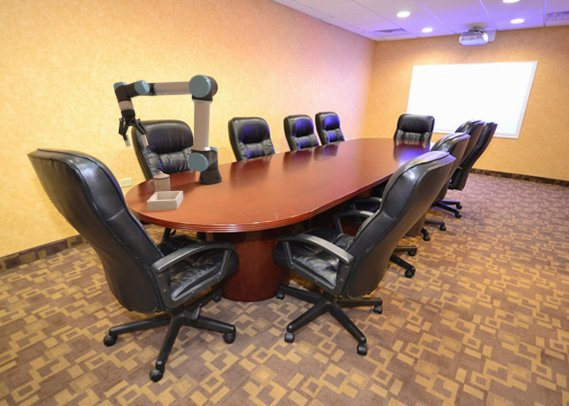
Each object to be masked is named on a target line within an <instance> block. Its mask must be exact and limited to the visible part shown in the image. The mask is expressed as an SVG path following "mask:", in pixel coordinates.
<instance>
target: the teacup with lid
mask: <svg viewBox="0 0 569 406" xmlns="http://www.w3.org/2000/svg"><path fill="white" fill-rule="evenodd" d="M170 178H171V177H170V175H169V174H166V173H163V171H159V172H158V173H157V174H156V175H153V177H152V179H150V180H149V181H148V186H149V188H151V189H154V190H155V191H154V192H164V191H172V187H171V181H170ZM152 182H154V186H152V185H151V183H152Z"/></svg>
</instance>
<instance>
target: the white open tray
mask: <svg viewBox="0 0 569 406" xmlns="http://www.w3.org/2000/svg"><path fill="white" fill-rule="evenodd" d="M183 200H184V191H183V190H171V191H164V192H156V191H154V193H153V194H152V195H151V196H150V198H149V199H147V201H146V206H147V211H157V210H158V211H161V210H162V211H163V210H178V209H179V207H180V205H181V204H182V202H183Z"/></svg>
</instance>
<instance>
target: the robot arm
mask: <svg viewBox="0 0 569 406" xmlns="http://www.w3.org/2000/svg"><path fill="white" fill-rule="evenodd" d="M112 87H113V90H114V95H115V97H116V100H117V104H118V108H119V110H120V114H121V117H120V118H118V120H119V122H118V124H119V125H118V131H117V134H119V135H120V136H121V137H122V139H123V141H124V143H125V147H126V148H128V147H131V146H132V144H131V142H130V138H129V135H128V134H127V132H128V129H129V128H130V127H133V128H135V129H136V130H137V132H138V133H140V136H141V140H142V144H143V146H144V147H147V146H149V143H148V137H147V135H148V134H149V132H148V130H147V128H146V127H145V126H144V124H143V122H142V121H141V118H136V115H137V114H136V112H135V111H136V110H135V107H134V104H133V100H132V99H134V98H136V97H137V98H138V97H158V96H159V97H160V96H183V95H184V96H186V95H191V101H192V102H193V145H192V146H191V147H190V154H189V155H188V157H187V164H188V166H189V167H190V169H192V170H193V171H195V172H199V175H198V183H200V184H202V185H214V184H219V183H221V182H223V178H222V175H221V172H220V170H219V156H218V147H216V146H209V144H210V143H209V142H210V140H209V138H210V114H211V113H210V111H211V110H210V108H211V104H212V103H213V102H214V99H213V98H214V96H215V95H216V94H217V93H218V90H219V85H218V82H217V80H216V79H215V78H213V77H212V76H208V75H205V74H196V75H194V76H192V77H191V78H190V79H189V80H188V81H185V80H184V81H166V82H165V81H164V82H162V81H161V82H147V81H145V80H144V79H141V80H136V81H134V82H131V83H126V81H117V82H115V83H113V86H112Z"/></svg>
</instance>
